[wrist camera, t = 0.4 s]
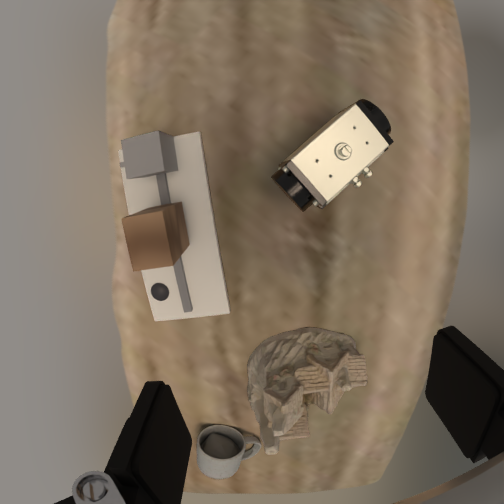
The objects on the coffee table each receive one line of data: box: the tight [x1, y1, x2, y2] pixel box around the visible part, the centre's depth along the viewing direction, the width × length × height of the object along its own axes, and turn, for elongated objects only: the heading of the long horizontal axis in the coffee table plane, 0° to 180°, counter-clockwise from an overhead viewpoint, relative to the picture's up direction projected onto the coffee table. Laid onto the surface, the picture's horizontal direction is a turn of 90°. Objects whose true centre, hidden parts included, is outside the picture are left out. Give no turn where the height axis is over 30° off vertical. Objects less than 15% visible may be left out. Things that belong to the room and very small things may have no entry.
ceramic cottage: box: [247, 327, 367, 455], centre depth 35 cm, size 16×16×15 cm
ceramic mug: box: [197, 425, 261, 480], centre depth 42 cm, size 11×8×8 cm
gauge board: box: [118, 130, 230, 321], centre depth 33 cm, size 22×10×7 cm, turn 8°
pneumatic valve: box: [271, 99, 393, 212], centre depth 29 cm, size 6×12×12 cm, turn 133°
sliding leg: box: [122, 201, 190, 271], centre depth 30 cm, size 5×7×8 cm
